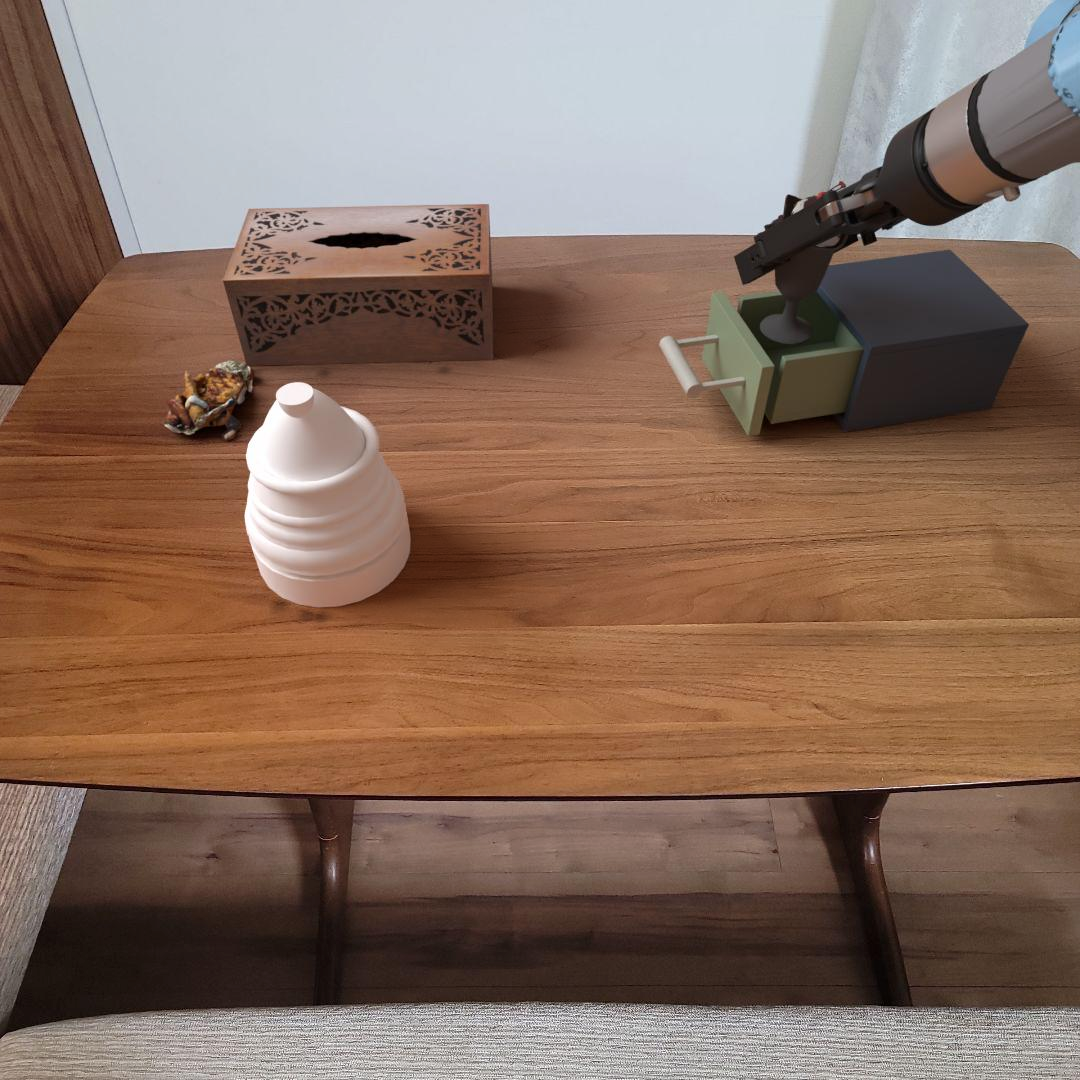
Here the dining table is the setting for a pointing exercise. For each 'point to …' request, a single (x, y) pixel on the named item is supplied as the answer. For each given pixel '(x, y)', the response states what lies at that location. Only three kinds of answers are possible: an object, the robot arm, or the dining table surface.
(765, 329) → the sundae
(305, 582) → the honey pot
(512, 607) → the dining table surface
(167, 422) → the dish of fried food
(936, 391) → the cabinet
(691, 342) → the drawer
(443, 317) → the tissue box cover
